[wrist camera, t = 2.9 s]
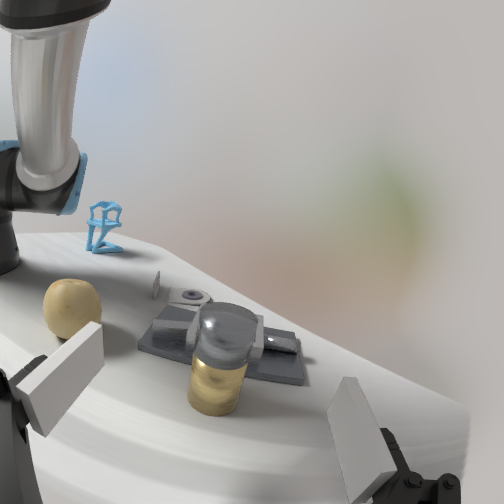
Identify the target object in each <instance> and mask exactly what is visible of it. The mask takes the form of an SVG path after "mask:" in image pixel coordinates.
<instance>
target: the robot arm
mask: <svg viewBox="0 0 504 504" xmlns="http://www.w3.org/2000/svg"><path fill="white" fill-rule="evenodd" d="M110 1H111V0H0V27H1V28H3V29H4V30H6V31H8V32H10V33H12V35H11V80H12V96H13V106H14V114H15V122H16V128H17V135H18V140H1V141H0V274H2V273H5V272H8V271H10V270H12V269H14V268H15V267H16V266H17V265H18V264H19V249H18V246H17V242H16V238H15V234H14V230H13V226H12V211H19V212H33V213H45V214H56V215H58V216H59V215H71V214H73V213H74V212H75V211H76V209H77V206H78V202H79V197H80V191H81V188H82V184H83V179H84V175H85V170H86V165H87V155H86V154H85V153H82V152H80V151H79V150H78V146H77V144H76V142H75V141H74V140H73V139H72V138H71V131H72V117H73V107H74V97H75V90H76V84H77V77H78V71H79V66H80V60H81V55H82V50H83V46H84V42H85V37H86V33H87V29H88V26H89V22H90V19H92V18H94V17H96V16H98V15H99V14H101V13H102V12H104V11H105V10H106V9H107V8H108V6H109V4H110ZM104 365H105V364H104V350H103V329H102V325H101V324H98V323H95V322H92V321H91V322H89V323H88V324H87V325H86V326H84V327H83V328H82V329H81V330H80V331H78V332H77V333H76V334H75V335H74V336H72V337H71V338H70V339H69V340H68V341H66V342H65V343H64V344H63V345H62V346H61V347H59V348H58V349H57V350H56V351H55V352H54V353H52V354H51V355H50V356H49V357H47V356H45V355H41V356H39V357H36V358H34V359H33V360H32V361H31V362H30V363H29V364H27V365H26V366H25V367H24V369H21V370H20V371H19V372H18V373H17V374H16V375H14V376H13V377H12V378H11V379H10V380H9V381H8V380H7V377H6V374H5V372H4V371H3V370H2V369H0V504H43V502H42V499H41V496H40V492H39V488H38V484H37V480H36V476H35V471H34V467H33V462H32V457H31V451H30V445H29V438H28V430H27V427H26V425H27V424H28V423H29V422H30V424H31V426H32V428H33V430H34V431H36V432H37V433H39V434H40V435H42V436H44V437H45V438H46V437H47V435H48V434H49V433H50V431H51V430H52V429H53V428H54V426H55V425H56V424H57V423H58V421H59V420H60V419H61V417H62V416H63V415H64V414H65V412H66V411H67V410H68V409H69V407H70V406H71V405H72V404H73V402H74V401H75V400H76V399H77V397H78V396H79V395H80V394H81V393H82V391H83V390H84V389H85V388H86V386H87V385H88V384H89V383H90V382H91V380H92V379H93V378H94V377H95V376H96V374H97V373H98V372H99V371H100V370H101V368H102V367H103V366H104ZM326 413H327V417H328V420H329V424H330V428H331V432H332V436H333V439H334V443H335V447H336V451H337V455H338V459H339V463H340V467H341V471H342V475H343V479H344V483H345V487H346V491H347V495H348V500H349V504H359V503H365V502H366V501H367V500H368V499H369V498H371V497H372V499H373V503H372V504H461V487H460V481H459V479H458V478H457V477H456V476H455V475H453V474H450V473H447V474H443V475H442V476H441V477H440V478H439V479H438V480H424V479H423V478H422V476H421V475H420V474H418V473H416V472H412V471H410V470H409V467H408V465H407V463H406V461H405V459H404V457H403V454H402V452H401V450H399V446H398V444H397V442H396V440H395V437H394V435H393V434H392V433H391V432H390V431H389V430H388V429H387V428H379V426H378V424H377V422H376V420H375V417H374V415H373V413H372V411H371V409H370V407H369V404H368V402H367V400H366V398H365V396H364V394H363V391H362V389H361V387H360V385H359V383H358V381H357V379H356V378H354V377H343V379H342V381H341V383H340V385H339V388H338V390H337V392H336V394H335V396H334V398H333V400H332V402H331V404H330V406H329V408H328V410H327V412H326Z"/></svg>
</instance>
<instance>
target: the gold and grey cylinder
mask: <svg viewBox="0 0 504 504" xmlns="http://www.w3.org/2000/svg"><path fill="white" fill-rule="evenodd" d="M257 325H258V318H257V316H256V315H255V314H254V313H253V312H251V311H250V310H248V309H246V308H244V307H241V306H239V305H235V304H231V303H224V302H213V303H208V304H205V305H203V306H202V307H201V308H200V313H199V319H198V325H197V332H196V339H195V345H194V352H193V360H192V367H191V374H190V382H189V390H188V401H189V403H190V404H191V406H192V407H193V408H194V409H196V410H197V411H199V412H200V413H203V414H205V415H209V416H223V415H227V414H229V413H231V412H232V411H233V410H234V409H235V407H236V404H237V401H238V397H239V394H240V390H241V386H242V383H243V379H244V375H245V371H246V368H247V364H248V360H249V356H250V352H251V349H252V345H253V341H254V337H255V333H256V329H257Z"/></svg>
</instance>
